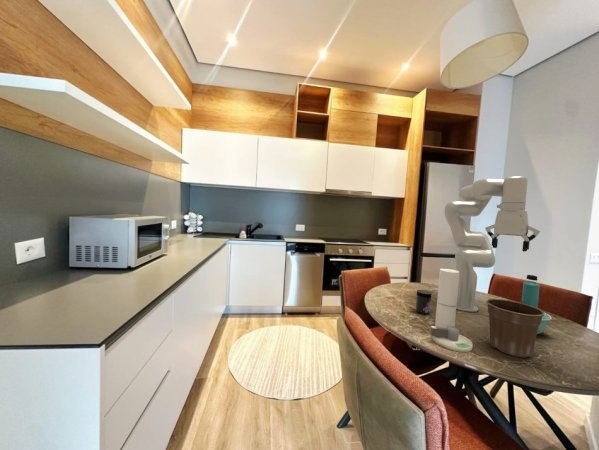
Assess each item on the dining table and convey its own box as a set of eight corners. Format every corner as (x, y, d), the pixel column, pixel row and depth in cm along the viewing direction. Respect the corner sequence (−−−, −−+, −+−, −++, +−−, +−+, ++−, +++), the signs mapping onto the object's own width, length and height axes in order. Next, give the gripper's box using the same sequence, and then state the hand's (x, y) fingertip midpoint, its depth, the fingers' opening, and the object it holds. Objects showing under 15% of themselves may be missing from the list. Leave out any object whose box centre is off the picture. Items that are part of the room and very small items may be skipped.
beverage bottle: (540, 317, 125) (544, 277, 124) (525, 315, 127) (529, 276, 126) (531, 311, 132) (535, 274, 131) (516, 310, 133) (520, 273, 132)
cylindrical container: (451, 326, 110) (456, 269, 108) (456, 333, 103) (461, 273, 101) (433, 323, 112) (438, 267, 111) (436, 329, 105) (441, 271, 104)
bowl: (539, 342, 99) (542, 321, 99) (494, 325, 113) (495, 307, 112) (556, 335, 106) (558, 316, 106) (511, 319, 120) (513, 302, 120)
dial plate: (427, 340, 96) (427, 336, 95) (439, 330, 104) (439, 327, 104) (466, 356, 86) (467, 351, 86) (476, 344, 95) (476, 339, 95)
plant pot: (477, 334, 103) (481, 295, 102) (527, 343, 97) (531, 303, 96) (490, 354, 88) (494, 309, 87) (549, 367, 82) (555, 319, 81)
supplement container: (420, 315, 120) (422, 294, 119) (412, 309, 127) (413, 289, 126) (433, 315, 121) (435, 294, 120) (424, 309, 128) (425, 289, 127)
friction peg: (455, 335, 97) (455, 327, 97) (460, 341, 93) (461, 331, 93) (429, 333, 98) (429, 324, 98) (433, 338, 94) (433, 329, 94)
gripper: (484, 206, 106) (480, 247, 107) (539, 207, 92) (535, 253, 93) (490, 207, 111) (487, 246, 111) (544, 208, 97) (540, 252, 97)
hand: (509, 249), depth 102 cm, fingers open, 9 cm apart
